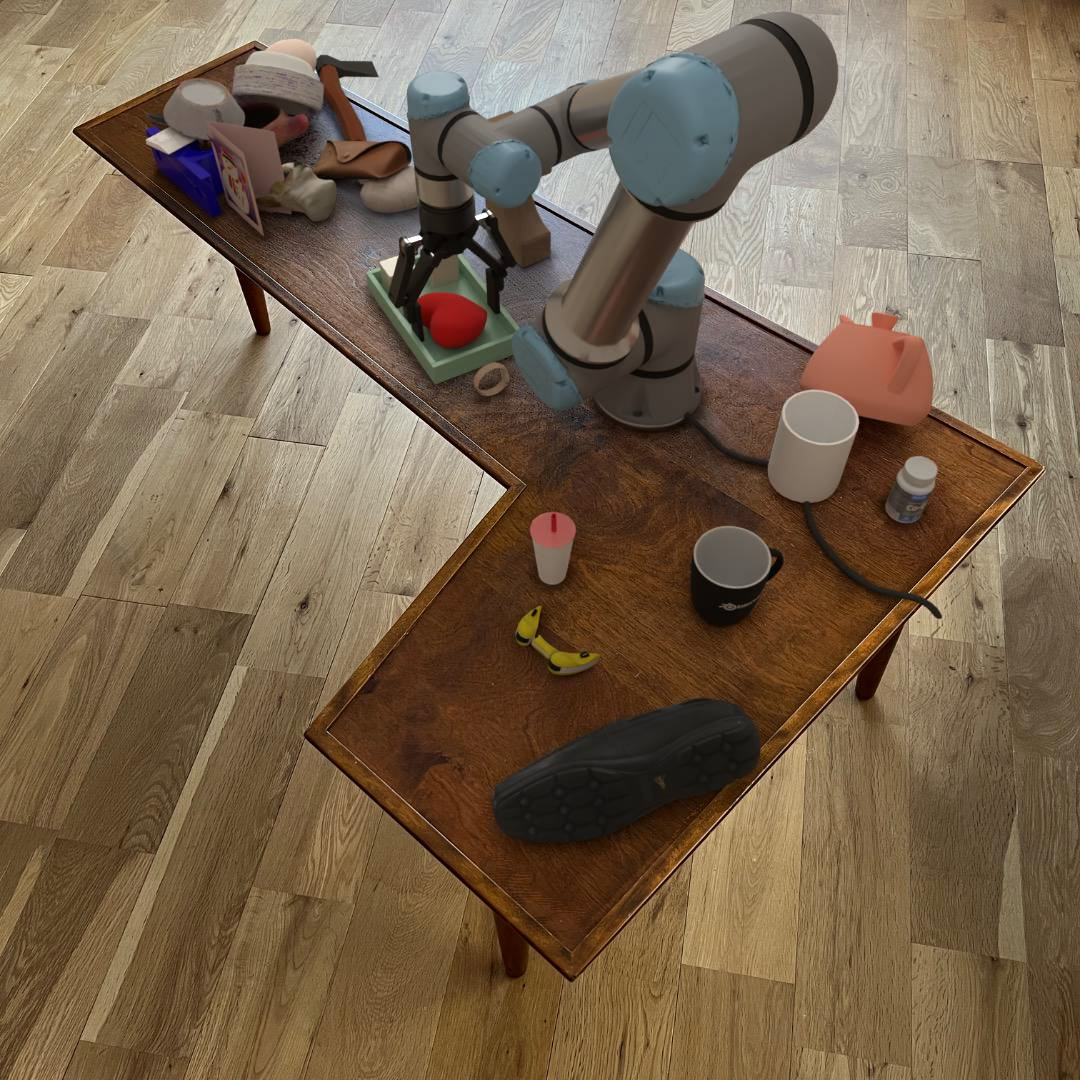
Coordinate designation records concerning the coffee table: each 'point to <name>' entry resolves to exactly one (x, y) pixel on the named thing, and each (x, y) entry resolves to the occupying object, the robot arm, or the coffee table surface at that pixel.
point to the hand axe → (335, 96)
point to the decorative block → (522, 226)
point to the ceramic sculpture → (301, 192)
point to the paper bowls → (279, 83)
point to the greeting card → (246, 167)
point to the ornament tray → (457, 360)
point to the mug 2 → (812, 445)
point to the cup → (552, 545)
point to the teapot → (874, 370)
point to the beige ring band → (499, 387)
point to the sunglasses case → (362, 159)
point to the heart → (452, 318)
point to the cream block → (445, 272)
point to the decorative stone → (391, 192)
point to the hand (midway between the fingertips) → (456, 322)
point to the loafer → (627, 771)
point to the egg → (295, 50)
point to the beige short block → (387, 272)
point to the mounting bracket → (192, 173)
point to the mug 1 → (730, 574)
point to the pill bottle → (911, 489)
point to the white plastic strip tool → (169, 140)
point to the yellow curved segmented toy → (552, 648)
